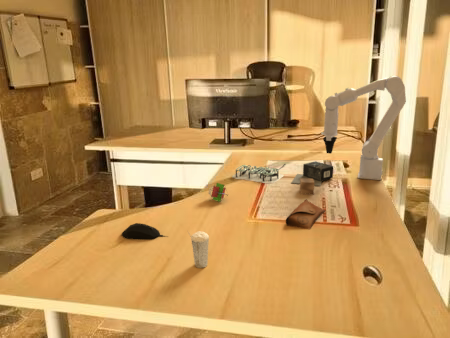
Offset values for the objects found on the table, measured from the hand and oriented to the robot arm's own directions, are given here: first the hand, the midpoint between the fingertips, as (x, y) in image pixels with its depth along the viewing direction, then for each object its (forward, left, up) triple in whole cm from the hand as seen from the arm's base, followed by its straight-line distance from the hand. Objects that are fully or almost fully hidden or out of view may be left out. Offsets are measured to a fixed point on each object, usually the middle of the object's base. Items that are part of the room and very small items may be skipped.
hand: (329, 153), depth 171 cm
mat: (+7, +13, -9) cm, 18 cm away
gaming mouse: (+45, +82, -10) cm, 94 cm away
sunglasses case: (+1, +53, -10) cm, 54 cm away
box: (-1, +12, -6) cm, 13 cm away
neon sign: (+28, +7, -10) cm, 31 cm away
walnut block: (+5, +28, -10) cm, 30 cm away
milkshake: (+22, +92, -10) cm, 95 cm away
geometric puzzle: (+35, +47, -10) cm, 60 cm away
